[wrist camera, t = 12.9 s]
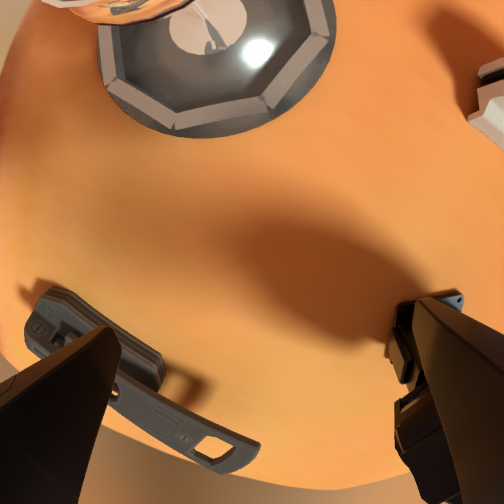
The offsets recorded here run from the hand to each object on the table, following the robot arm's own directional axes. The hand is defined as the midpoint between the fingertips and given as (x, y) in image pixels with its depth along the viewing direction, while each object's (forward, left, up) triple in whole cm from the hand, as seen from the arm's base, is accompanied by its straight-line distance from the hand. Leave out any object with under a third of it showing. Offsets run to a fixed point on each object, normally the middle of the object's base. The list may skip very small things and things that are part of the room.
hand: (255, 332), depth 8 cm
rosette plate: (+2, -13, -13) cm, 18 cm away
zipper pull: (+15, +14, -13) cm, 24 cm away
